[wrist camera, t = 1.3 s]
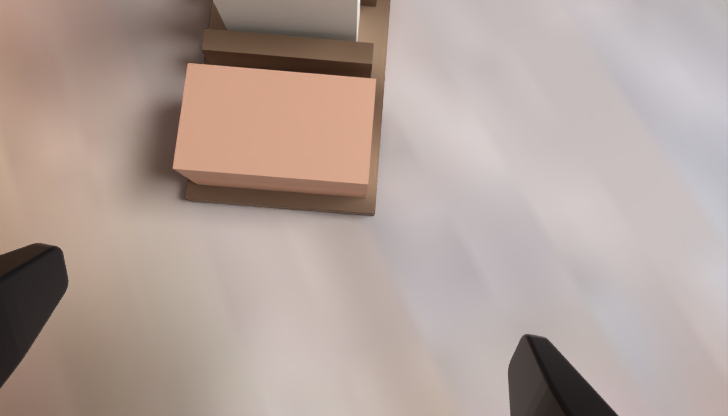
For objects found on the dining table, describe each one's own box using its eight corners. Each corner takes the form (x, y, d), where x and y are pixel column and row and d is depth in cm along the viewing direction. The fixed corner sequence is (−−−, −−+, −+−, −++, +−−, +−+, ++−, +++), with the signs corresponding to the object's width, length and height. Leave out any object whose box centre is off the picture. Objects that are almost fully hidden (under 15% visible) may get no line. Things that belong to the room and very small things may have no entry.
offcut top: (366, 191, 21) (368, 184, 19) (186, 177, 21) (172, 168, 19) (374, 93, 22) (376, 78, 20) (199, 79, 21) (187, 62, 20)
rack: (374, 215, 23) (377, 205, 20) (190, 201, 23) (165, 188, 20) (390, -7, 25) (395, -49, 22) (221, -22, 25) (202, -66, 22)
